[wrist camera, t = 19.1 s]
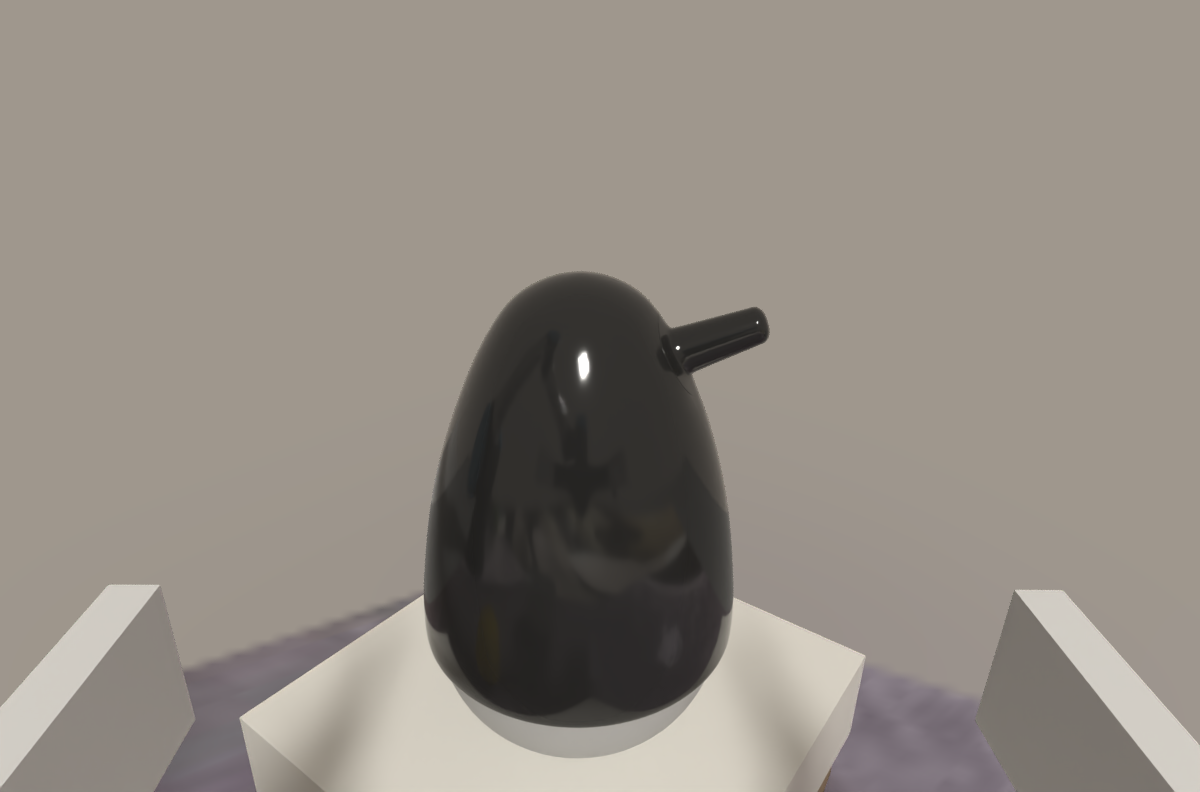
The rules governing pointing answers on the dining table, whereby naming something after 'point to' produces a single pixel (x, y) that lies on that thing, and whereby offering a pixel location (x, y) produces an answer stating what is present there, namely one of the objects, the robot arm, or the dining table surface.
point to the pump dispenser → (583, 519)
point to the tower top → (541, 782)
